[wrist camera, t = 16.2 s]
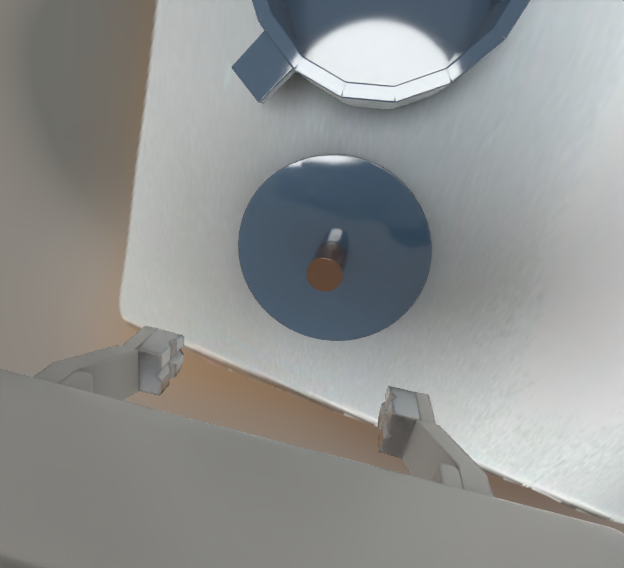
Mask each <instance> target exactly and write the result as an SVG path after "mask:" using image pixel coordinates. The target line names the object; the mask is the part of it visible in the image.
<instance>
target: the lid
mask: <svg viewBox="0 0 624 568" xmlns="http://www.w3.org/2000/svg"><path fill="white" fill-rule="evenodd" d="M238 249H239V259H240V265H241V269H242V272H243V275H244V278H245V280H246V283H247V285H248V287H249V289H250V291H251V292H252V294H253V295H254V297H255V299H256V300H257V301H258V302H259V304H260V305H261V306H262V307H263V308H264V309H265V310H266V311H267V312H268V313H269V314H270V315H271V316H272V317H273V318H274V319H276V320H277V321H278V322H280V323H281V324H283V325H284V326H286V327H288V328H289V329H291V330H293V331H296V332H298V333H300V334H303V335H306V336H309V337H313V338H317V339H322V340H331V341H344V340H352V339H358V338H362V337H366V336H369V335H372V334H374V333H377V332H379V331H381V330H383V329H385V328H387V327H388V326H390V325H391V324H393V323H394V322H396V321H397V320H398V319H399V318H400V317H402V316H403V315H404V314H405V313H406V312H407V311H408V310H409V308H410V307H411V306H412V305H413V304H414V302H415V301H416V299H417V298H418V296H419V295H420V293H421V291H422V289H423V287H424V284H425V282H426V279H427V276H428V273H429V269H430V262H431V238H430V232H429V228H428V224H427V221H426V218H425V216H424V213H423V211H422V209H421V207H420V205H419V204H418V202H417V200H416V199H415V197H414V196H413V194H412V193H411V192H410V191H409V189H408V188H407V187H406V186H405V185H404V184H403V183H402V182H401V181H400V180H399V179H398V178H397V177H396V176H394V175H393V174H391V173H390V172H389V171H387V170H386V169H384V168H383V167H380V166H378V165H376V164H374V163H372V162H370V161H367V160H364V159H361V158H358V157H353V156H347V155H335V154H328V155H318V156H313V157H309V158H305V159H302V160H299V161H297V162H294V163H292V164H289V165H287V166H286V167H284V168H282V169H281V170H279V171H277V172H276V173H275V174H273V175H272V176H271V177H270V178H268V179H267V180H266V181H265V182H264V183H263V184H262V185H261V186H260V188H259V189H258V190H257V191H256V193H255V194H254V196H253V197H252V198H251V200H250V202H249V204H248V206H247V208H246V210H245V213H244V216H243V218H242V222H241V226H240V231H239V241H238Z"/></svg>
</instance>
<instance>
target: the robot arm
mask: <svg viewBox="0 0 624 568" xmlns="http://www.w3.org/2000/svg"><path fill="white" fill-rule="evenodd" d="M183 346H184V336H183V335H180V334H177V333H173V332H169V331H166V330H162V329H158V328H154V327H150V326H145V327H143V328H142V329H141V330H140V331H139V332H137V333H136V334H135V335H134V336H133V337H131V338H130V339H129V340H128V341H127V342H125V343H124V344H123V345H122V346H119V345H116V346H113V347H109V348H105V349H101V350H98V351H94V352H91V353H86V354H83V355H79V356H75V357H72V358H68V359H64V360H60V361H57V362H54V363H52V364H50V365H49V366H48V367H46V368H45V369H43V370H42V371H41V372H39V373H38V374H36V375H35V376H34V377H30V376H26V375H22V374H18V373H14V372H10V371H7V370H2V369H0V568H624V533H622V532H620V531H618V530H616V529H613V528H610V527H607V526H603V525H599V524H595V523H592V522H588V521H584V520H580V519H576V518H572V517H569V516H565V515H560V514H557V513H552V512H549V511H545V510H541V509H537V508H533V507H530V506H526V505H522V504H518V503H514V502H510V501H506V500H502V499H499V498H495V497H494V496H493V493H492V490H491V487H490V484H489V481H488V478H487V476H486V473H485V472H484V471H483V470H482V469H481V468H480V467H479V466H478V465H477V464H476V463H475V462H474V461H473V460H472V459H471V458H470V457H469V456H468V454H467V453H466V452H465V451H464V450H463V449H462V448H461V447H460V446H459V445H458V444H457V443H456V442H455V441H454V440H453V439H452V438H451V437H450V436H449V435H448V434H447V433H446V432H445V431H444V430H443V429H442V427H441V426H439V425H436V423H435V419H434V414H433V410H432V406H431V401H430V397H429V395H428V394H423V393H419V392H412V391H408V390H404V389H400V388H395V387H391V386H388V388H387V390H386V393H385V402H384V403H382V405H381V409H380V413H379V418H378V429H379V431H380V434H379V437H378V445H379V452H381V453H384V454H388V455H391V456H395V457H398V458H402V461H403V463H404V464H405V466H406V468H407V469H408V471H409V472H410V474H411V476H410V475H406V474H403V473H399V472H395V471H391V470H388V469H384V468H380V467H376V466H372V465H368V464H364V463H360V462H357V461H353V460H349V459H345V458H341V457H338V456H334V455H330V454H326V453H322V452H318V451H315V450H310V449H307V448H303V447H299V446H295V445H291V444H287V443H283V442H280V441H276V440H272V439H268V438H264V437H260V436H257V435H253V434H249V433H245V432H241V431H238V430H234V429H230V428H226V427H222V426H218V425H214V424H211V423H206V422H203V421H199V420H195V419H191V418H188V417H184V416H179V415H176V414H172V413H168V412H164V411H160V410H156V409H153V408H149V407H145V406H141V405H138V404H133V403H130V402H126V401H122V400H123V399H125V398H127V397H129V396H131V395H133V394H135V393H137V392H138V391H142V392H146V393H151V394H155V395H161V394H162V393H163V392H164V390H165V389H166V388H167V387H168V385H169V380H170V379H172V378H174V377H176V375H177V374H178V373H179V371H180V369H181V366H182V363H183V356H184V354H183V352H182V351H181V348H182V347H183Z"/></svg>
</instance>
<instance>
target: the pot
mask: <svg viewBox="0 0 624 568" xmlns="http://www.w3.org/2000/svg"><path fill="white" fill-rule="evenodd" d="M252 2H253V5H254V9H255V12H256V15H257V19H258V21H259V23H260V25H261V26H262V27H263V29H264V30H265V31H264V32H263V33H262V34H261V35H260V36H259V37H258V39H257V40H256V41H255V42H254V43H253V44H252V45H251V46H250V47H249V48H248V50H247V51H246V52H245V53H244V54H243V55H242V56H241V57H240V58H239V59H238V60H237V62H236V63H235V64H234V65H233V66H232V69H233V70H234V72H235V73H236V74H237V75H238V77H239V78H240V79H241V81H242V82H243V83H244V84H245V86H246V87H247V88H248V90H249V91H250V92H251V93H252V95H253V96H254V97H255V99H256V100H257V101H258V102H259V103H262V104H264V103H265V102H266V101H267V100H268V99H269V98H270V97H271V96H272V95H273V94H274V93H275V92H276V91H277V90H278V89H279V88H280V87H281V86H282V85H283V84H284V83H285V82H286V81H287V80H288V79H289V78H290V77H291V76H292V75H293V74H294V73H295V72H297V73H298V74H300V75H301V76H302V77H304V78H305V79H306V80H308V81H309V82H310V83H312V84H313V85H314V86H316V87H318V88H320V89H321V90H323V91H325V92H326V93H328V94H330V95H331V96H333V97H335V98H337V99H338V100H340V101H342V102H343V103H345V104H347V105H350V106H355V107H366V108H377V109H387V110H390V109H394V108H397V107H400V106H403V105H406V104H410V103H413V102H415V101H418V100H421V99H424V98H427V97H430V96H433V95H434V94H436V93H437V92H439V91H441V90H442V89H444V88H445V87H447V86H448V85H450V84H452V83H453V82H454V81H456V80H457V79H458V78H459V77H460V76H462V75H463V74H464V73H465V72H467V71H468V70H469V69H470V68H471V67H473V66H474V65H475V64H476V63H478V62H479V61H480V60H481V59H482V58H484V57H485V56H486V55H487V54H488V53H490V52H491V51H492V50H493V49H495V48H496V47H497V46H498V45H499V44H501V43H502V42H503V41H504V40H505V39H506V38H507V36H508V35H509V33H510V31H511V30H512V28H513V27H514V25H515V24H516V22H517V20H518V19H519V17H520V16H521V14H522V13H523V11H524V9H525V8H526V6H527V5H528V3H529V2H530V0H252Z"/></svg>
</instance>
